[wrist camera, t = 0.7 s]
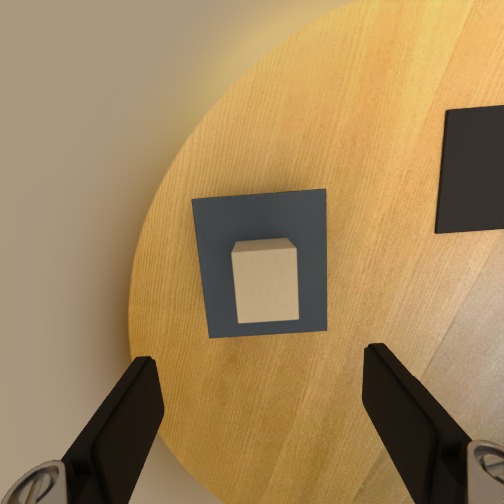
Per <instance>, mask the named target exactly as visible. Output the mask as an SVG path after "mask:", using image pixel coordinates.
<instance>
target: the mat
mask: <svg viewBox="0 0 504 504" xmlns="http://www.w3.org/2000/svg"><path fill="white" fill-rule="evenodd" d="M494 229H504V105H499V106H487V107H475V108H463V109H451V110H447V111H446V119H445V130H444V140H443V151H442V162H441V172H440V183H439V194H438V204H437V215H436V226H435V233H436V234H439V233H453V232H467V231H480V230H494Z"/></svg>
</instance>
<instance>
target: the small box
mask: <svg viewBox="0 0 504 504" xmlns="http://www.w3.org/2000/svg"><path fill="white" fill-rule="evenodd" d="M231 255H232V266H233V276H234V286H235V297H236V307H237V317H238V323H252V322H267V321H283V320H298V319H299V304H298V275H297V249H296V247H295V246H294V245H293V244H292V243H291V242H290V241H289V239H288V238H276V239H263V240H249V241H237V242H236V243H235V246H234V248H233V250H232V253H231Z"/></svg>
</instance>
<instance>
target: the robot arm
mask: <svg viewBox="0 0 504 504" xmlns="http://www.w3.org/2000/svg"><path fill="white" fill-rule="evenodd" d="M362 401H363V405H364V407H365V409H366V411H367V413H368V415H369V417H370V419H371V421H372V423H373V425H374V426H375V428H376V430H377V432H378V434H379V436H380V438H381V440H382V442H383V444H384V446H385V447H386V449H387V451H388V453H389V455H390V457H391V459H392V461H393V463H394V465H395V466H396V468H397V470H398V472H399V474H400V476H401V478H402V480H403V482H404V484H405V485H406V487H407V489H408V491H409V493H410V495H411V497H412V499H413V501H414V502H415V504H504V447H502V446H500V445H498V444H495V443H492V442H490V441H485V440H473V441H472V439H471V438H470V437H469V436H468V435H467V434H466V433H465V432H464V430H463V429H462V428H461V427H460V426H459V425H458V424H457V423H456V422H455V420H454V419H453V418H452V417H451V416H450V415H449V414H448V413H447V411H446V410H445V409H444V408H443V407H442V406H441V405H440V404H439V403H438V401H437V400H436V399H435V398H434V397H433V396H432V395H431V394H430V393H429V391H428V390H427V389H426V388H425V387H424V386H423V385H422V384H421V382H420V381H419V380H418V379H417V378H416V377H415V376H412V374H411V373H410V372H409V371H408V370H407V369H406V368H405V367H404V365H403V364H402V363H401V362H400V361H399V360H398V359H397V357H396V356H395V355H394V354H393V353H392V352H391V351H390V350H389V348H388V347H387V346H386V345H385V344H384V343H372V344H369V345H368V347H366V348H365V349H364V366H363V385H362ZM163 416H164V403H163V398H162V392H161V387H160V382H159V377H158V372H157V366H156V362H155V360H154V359H152V358H151V356H142V357H136V358H135V359H134V360H133V362H132V363H131V365H130V366H129V367H128V369H127V370H126V372H125V373H124V374H123V376H122V377H121V378H120V380H119V381H118V382H117V384H116V385H115V387H114V388H113V389H112V391H111V392H110V394H109V395H108V396H107V397H106V399H105V400H104V401H103V403H102V404H101V405H100V407H99V408H98V410H97V411H96V412H95V414H94V415H93V416H92V418H91V419H90V421H89V422H88V424H87V425H86V426H85V427H84V429H83V430H82V432H81V433H80V434H79V436H78V437H77V438H76V440H75V441H74V443H73V444H72V445H71V447H70V448H69V449H68V451H67V452H66V454H65V455H64V456H63V458H62V459H61V460H51V461H47V462H44V463H42V464H40V465H38V466H36V467H34V468H33V469H31V470H30V471H28V472H27V473H25V474H24V475H23V476H22V477H21V478H20V479H18V480H17V481H16V482H15V483H14V485H13V486H12V487H11V488H10V489H9V490H8V492H7V493H6V495H5V496H4V498H3V500H2V502H1V504H128V502H129V500H130V498H131V495H132V493H133V490H134V488H135V485H136V483H137V481H138V478H139V476H140V473H141V470H142V468H143V466H144V463H145V461H146V458H147V456H148V453H149V451H150V448H151V446H152V443H153V441H154V439H155V436H156V434H157V431H158V429H159V426H160V424H161V421H162V419H163Z"/></svg>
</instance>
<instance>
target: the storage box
mask: <svg viewBox="0 0 504 504" xmlns="http://www.w3.org/2000/svg"><path fill="white" fill-rule="evenodd" d="M192 207H193V215H194V223H195V231H196V239H197V247H198V254H199V262H200V270H201V278H202V286H203V294H204V301H205V309H206V317H207V325H208V333H209V338H223V337H238V336H254V335H269V334H285V333H300V332H315V331H327V228H326V189H315V190H302V191H289V192H276V193H264V194H251V195H238V196H225V197H212V198H199V199H192ZM276 238H288V239H289V241H290V242H291V243H292V244H293V245H294V246H295V247H296V249H297V275H298V304H299V319H298V320H283V321H267V322H252V323H238V317H237V307H236V297H235V286H234V276H233V266H232V255H231V253H232V250H233V248H234V246H235V243H236V242H237V241H249V240H263V239H276Z"/></svg>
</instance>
